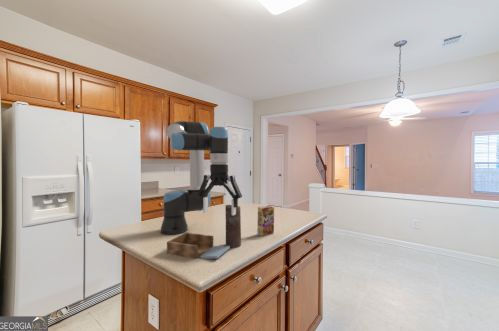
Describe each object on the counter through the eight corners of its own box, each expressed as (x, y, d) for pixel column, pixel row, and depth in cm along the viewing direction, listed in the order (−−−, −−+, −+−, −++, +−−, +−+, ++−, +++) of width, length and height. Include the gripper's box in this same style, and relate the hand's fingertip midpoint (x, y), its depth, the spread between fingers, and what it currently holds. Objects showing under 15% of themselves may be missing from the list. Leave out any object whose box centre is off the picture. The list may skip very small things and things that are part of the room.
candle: (225, 244, 113) (225, 203, 113) (240, 243, 114) (240, 203, 113) (225, 250, 106) (225, 207, 105) (241, 249, 106) (241, 206, 106)
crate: (167, 255, 100) (166, 242, 100) (186, 244, 113) (186, 232, 113) (196, 260, 95) (196, 246, 95) (213, 248, 108) (213, 235, 108)
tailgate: (198, 256, 96) (216, 255, 93) (212, 246, 107) (229, 245, 104) (198, 259, 96) (217, 258, 93) (212, 248, 107) (230, 248, 104)
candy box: (261, 236, 125) (261, 208, 124) (257, 234, 129) (257, 207, 128) (274, 233, 130) (274, 206, 129) (269, 231, 133) (269, 205, 133)
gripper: (189, 163, 99) (189, 213, 99) (242, 164, 90) (242, 218, 91) (199, 163, 106) (199, 209, 106) (249, 163, 97) (249, 213, 98)
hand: (219, 213), depth 99 cm, fingers open, 13 cm apart
